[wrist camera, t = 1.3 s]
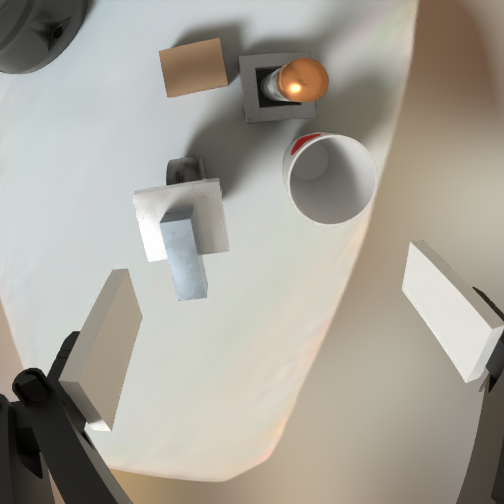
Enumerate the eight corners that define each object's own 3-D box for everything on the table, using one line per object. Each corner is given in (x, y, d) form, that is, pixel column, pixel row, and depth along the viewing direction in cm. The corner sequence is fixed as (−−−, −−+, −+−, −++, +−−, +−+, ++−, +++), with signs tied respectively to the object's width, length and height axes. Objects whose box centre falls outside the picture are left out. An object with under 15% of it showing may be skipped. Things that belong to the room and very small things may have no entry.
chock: (165, 55, 29) (158, 51, 26) (220, 43, 29) (219, 37, 26) (173, 97, 31) (167, 97, 28) (228, 86, 31) (228, 84, 28)
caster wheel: (158, 157, 34) (121, 190, 22) (220, 147, 34) (215, 174, 22) (174, 238, 39) (153, 303, 27) (232, 230, 39) (234, 294, 27)
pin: (259, 75, 31) (279, 58, 17) (287, 73, 31) (326, 57, 17) (262, 101, 32) (284, 103, 19) (289, 99, 32) (330, 101, 19)
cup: (339, 122, 34) (376, 132, 25) (343, 189, 37) (376, 220, 28) (268, 127, 34) (282, 139, 25) (276, 197, 37) (291, 231, 28)
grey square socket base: (238, 59, 30) (238, 56, 27) (303, 55, 30) (309, 51, 27) (245, 121, 33) (247, 123, 30) (309, 115, 33) (316, 117, 30)
